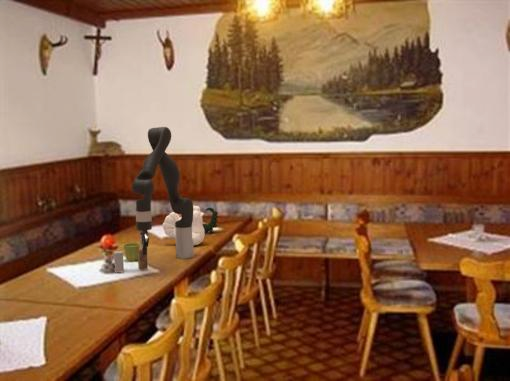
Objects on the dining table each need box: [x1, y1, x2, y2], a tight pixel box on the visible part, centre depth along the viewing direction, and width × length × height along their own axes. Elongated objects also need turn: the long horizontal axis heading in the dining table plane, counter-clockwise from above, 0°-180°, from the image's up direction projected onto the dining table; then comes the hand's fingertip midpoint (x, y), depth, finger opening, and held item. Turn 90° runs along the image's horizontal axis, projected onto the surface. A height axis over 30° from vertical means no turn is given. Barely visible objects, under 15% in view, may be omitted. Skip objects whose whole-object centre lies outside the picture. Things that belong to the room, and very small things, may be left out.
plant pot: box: [122, 242, 141, 262], centre depth 299 cm, size 9×9×9 cm
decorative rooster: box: [162, 204, 206, 246], centre depth 336 cm, size 25×16×25 cm, turn 80°
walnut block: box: [137, 248, 149, 271], centre depth 280 cm, size 4×4×10 cm
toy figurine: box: [202, 207, 219, 235], centre depth 373 cm, size 9×19×25 cm
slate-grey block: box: [113, 250, 125, 273], centre depth 275 cm, size 4×4×10 cm
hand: (144, 254), depth 272 cm, fingers closed
